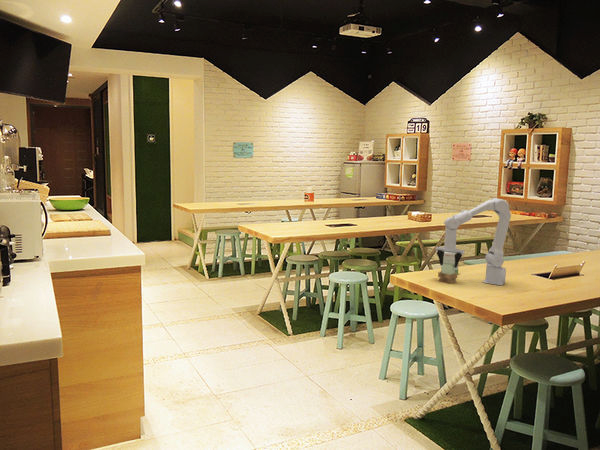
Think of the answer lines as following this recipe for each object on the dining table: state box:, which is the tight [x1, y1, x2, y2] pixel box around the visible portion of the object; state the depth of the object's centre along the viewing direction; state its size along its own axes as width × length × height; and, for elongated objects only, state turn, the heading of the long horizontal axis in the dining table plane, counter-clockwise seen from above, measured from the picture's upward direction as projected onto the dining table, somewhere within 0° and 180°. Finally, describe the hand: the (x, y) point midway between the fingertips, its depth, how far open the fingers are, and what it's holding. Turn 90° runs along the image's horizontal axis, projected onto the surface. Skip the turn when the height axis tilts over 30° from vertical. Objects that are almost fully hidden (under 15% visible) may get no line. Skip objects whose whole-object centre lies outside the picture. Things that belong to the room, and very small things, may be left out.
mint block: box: [441, 262, 455, 275], centre depth 265 cm, size 5×5×5 cm
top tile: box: [437, 271, 459, 280], centre depth 266 cm, size 7×7×2 cm
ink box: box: [440, 252, 460, 274], centre depth 284 cm, size 9×5×12 cm, turn 84°
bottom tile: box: [438, 277, 457, 284], centre depth 266 cm, size 7×7×2 cm
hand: (448, 266), depth 265 cm, fingers open, 7 cm apart
